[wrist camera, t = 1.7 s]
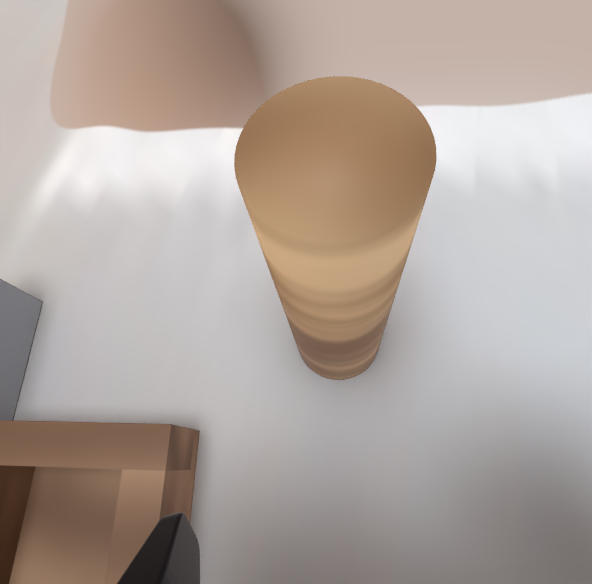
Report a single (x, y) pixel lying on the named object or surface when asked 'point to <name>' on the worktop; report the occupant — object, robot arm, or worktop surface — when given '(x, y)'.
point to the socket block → (87, 496)
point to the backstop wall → (14, 342)
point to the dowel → (336, 209)
